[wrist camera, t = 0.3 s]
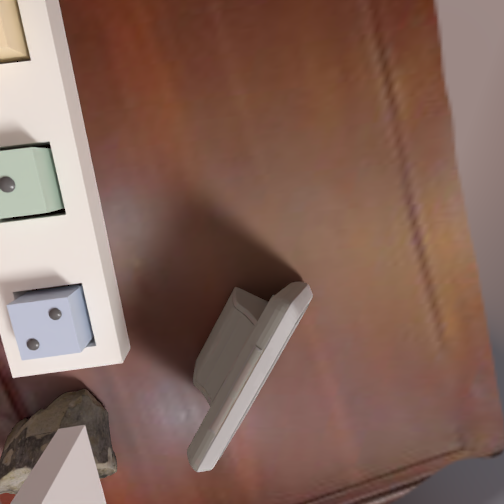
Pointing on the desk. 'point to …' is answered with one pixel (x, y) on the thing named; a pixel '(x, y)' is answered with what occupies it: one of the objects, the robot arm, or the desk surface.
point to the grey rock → (43, 430)
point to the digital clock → (241, 363)
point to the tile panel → (73, 193)
